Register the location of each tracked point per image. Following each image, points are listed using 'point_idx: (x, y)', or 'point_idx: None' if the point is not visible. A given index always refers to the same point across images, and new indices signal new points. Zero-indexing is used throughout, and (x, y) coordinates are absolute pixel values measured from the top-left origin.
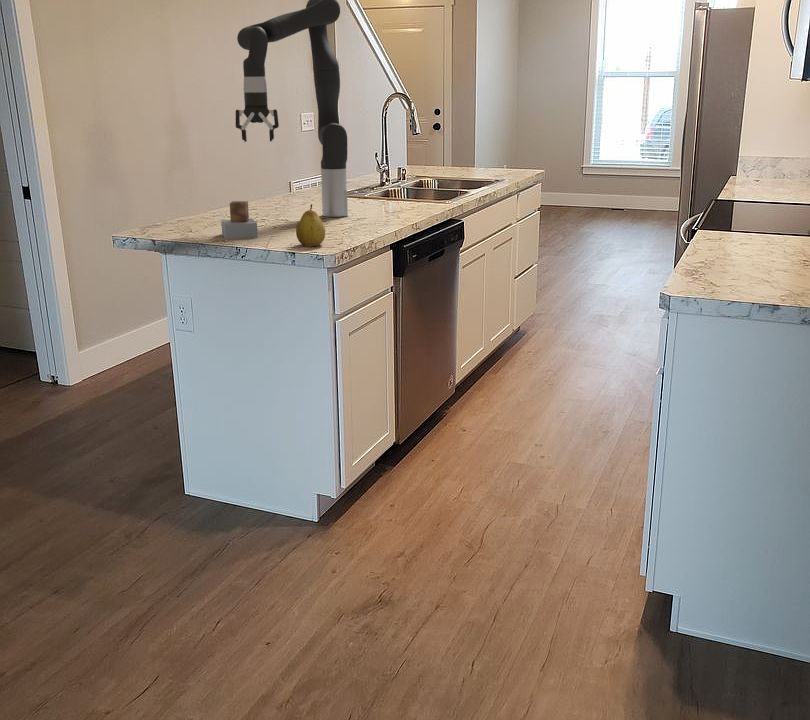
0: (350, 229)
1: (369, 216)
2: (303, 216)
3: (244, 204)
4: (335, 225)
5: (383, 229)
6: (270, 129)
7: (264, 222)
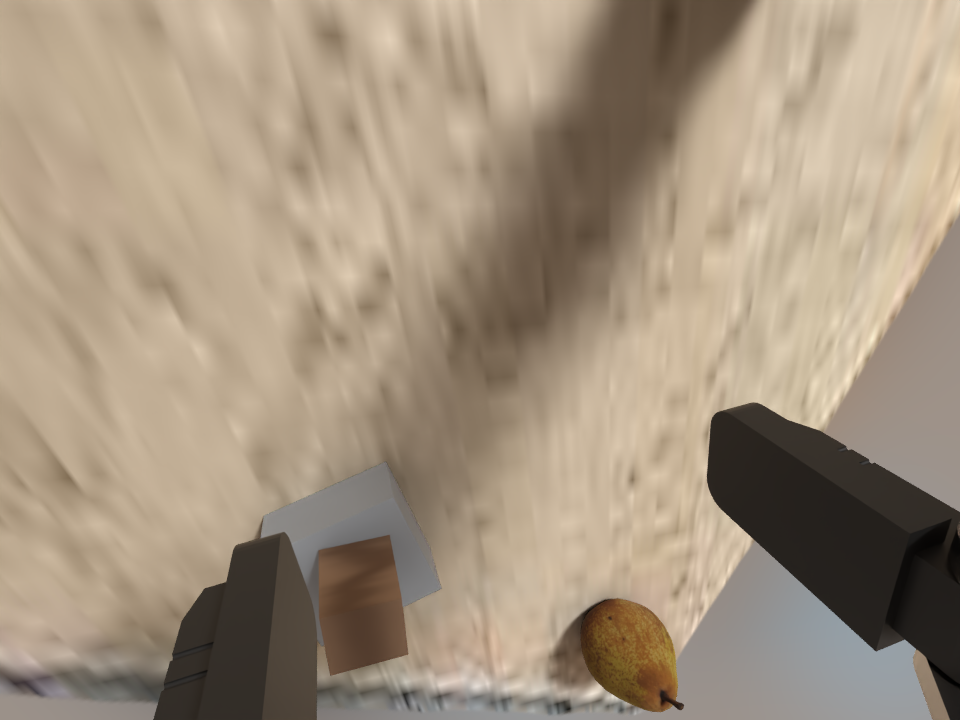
0: (739, 349)
1: None
2: (634, 705)
3: (402, 650)
4: (700, 255)
5: (837, 339)
6: (918, 637)
7: (365, 161)
